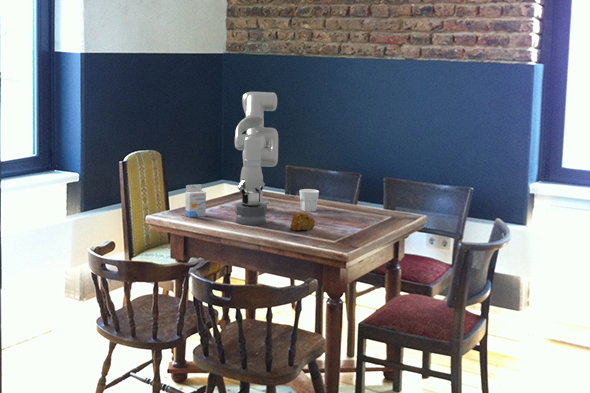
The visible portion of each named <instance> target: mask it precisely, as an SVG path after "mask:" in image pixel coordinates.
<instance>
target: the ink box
mask: <svg viewBox="0 0 590 393" xmlns="http://www.w3.org/2000/svg"><path fill="white" fill-rule="evenodd" d="M202 186H203V184H202V183H201V184H199V183H198V184H187V185H185V209H184V210H185V213H184V214H185V216H186V217H188V218H199V217H206V213H207V212H206V211H207V210H206V209H207V208H206V205H207V192H206V191H203V190H202Z"/></svg>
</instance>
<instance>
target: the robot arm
mask: <svg viewBox="0 0 590 393" xmlns="http://www.w3.org/2000/svg"><path fill="white" fill-rule="evenodd" d="M241 102H242V108H243V112H244V114H245V117H244V118H243V119H242V120H240V121H239V123H238V124H237V126H236V127H235V128H236V129H235V133H234V135H235V136H234V147H235V149H236V150H238V151H242V163H243V166H242V168H241V172H240V179H239V180H240V181H239V185H238V186H237V189H238V191H239V192H240V193H241V195H242V197H241V199H242V200H241V202H242V203H246V204H247V203H248V195H247V193H248V192H253V191H258V193H259V203H263V204H266V205H269V204H270V201H269V200H264V199H263V189H264V187H265V185H266V183H265V182H264V175H263V172H262V171H263V169H262V167H268V168H270V167H271V168H272V167H275V166H277V164H278V161H279V133H278V131H277V130H278V129H276V128H274V127H265V126H264V125H265V123H264V122H265V121H264V116H265V114H264V112H265V111H266V112H274V111H276V109H277V107H278V97H277V94H276V93H275V92H268V91H267V92H265V91H248V92H245V93H243V94H242V100H241ZM244 132H246V133H244Z"/></svg>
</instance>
